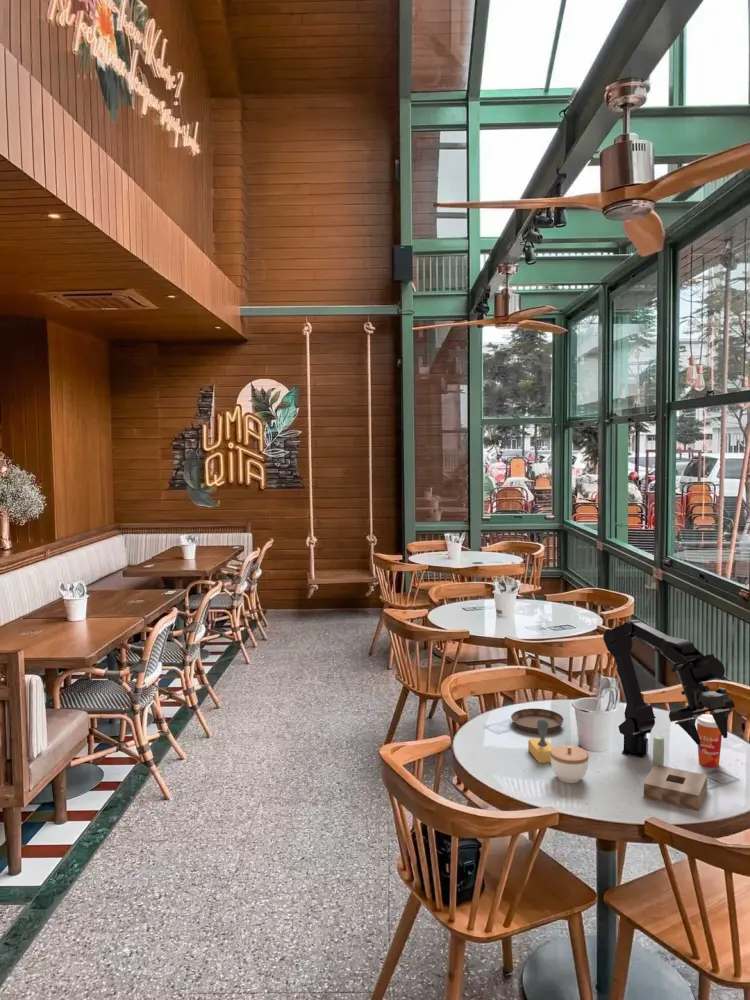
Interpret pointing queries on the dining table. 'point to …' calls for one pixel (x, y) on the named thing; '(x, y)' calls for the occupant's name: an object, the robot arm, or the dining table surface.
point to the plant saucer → (536, 719)
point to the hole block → (675, 786)
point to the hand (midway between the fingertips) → (712, 741)
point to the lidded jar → (569, 763)
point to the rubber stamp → (541, 743)
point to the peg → (658, 750)
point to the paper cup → (708, 741)
